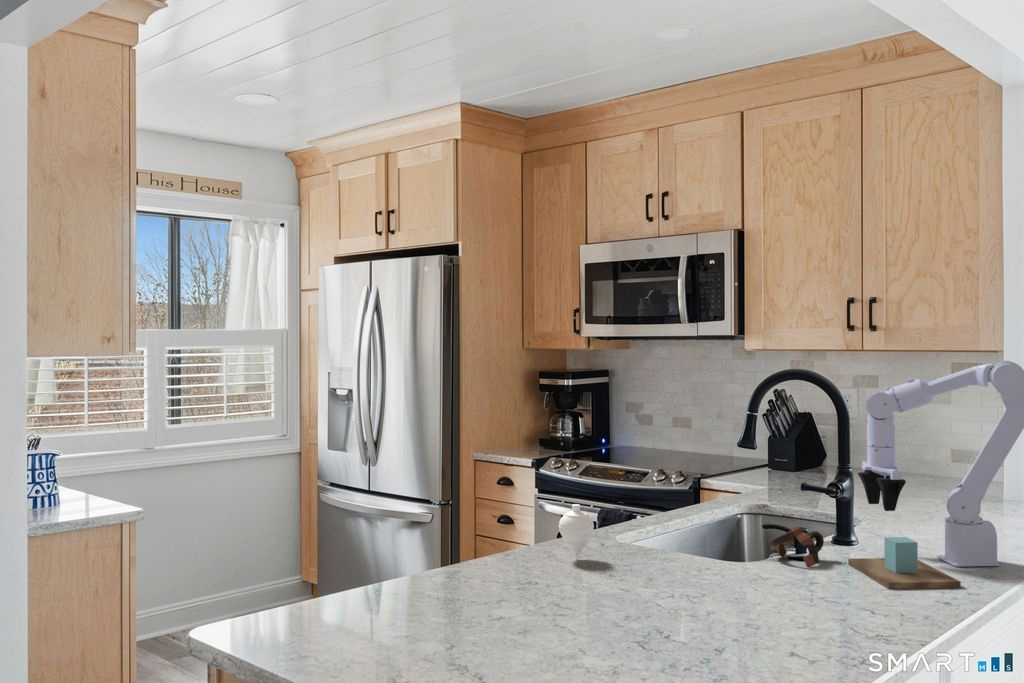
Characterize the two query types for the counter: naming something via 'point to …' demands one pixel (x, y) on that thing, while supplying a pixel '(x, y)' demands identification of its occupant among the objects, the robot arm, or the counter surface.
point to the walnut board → (904, 575)
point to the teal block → (901, 554)
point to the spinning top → (576, 529)
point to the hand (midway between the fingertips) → (881, 507)
